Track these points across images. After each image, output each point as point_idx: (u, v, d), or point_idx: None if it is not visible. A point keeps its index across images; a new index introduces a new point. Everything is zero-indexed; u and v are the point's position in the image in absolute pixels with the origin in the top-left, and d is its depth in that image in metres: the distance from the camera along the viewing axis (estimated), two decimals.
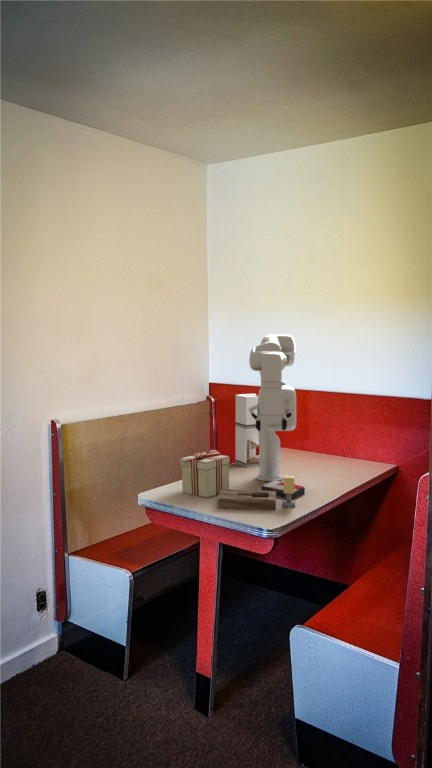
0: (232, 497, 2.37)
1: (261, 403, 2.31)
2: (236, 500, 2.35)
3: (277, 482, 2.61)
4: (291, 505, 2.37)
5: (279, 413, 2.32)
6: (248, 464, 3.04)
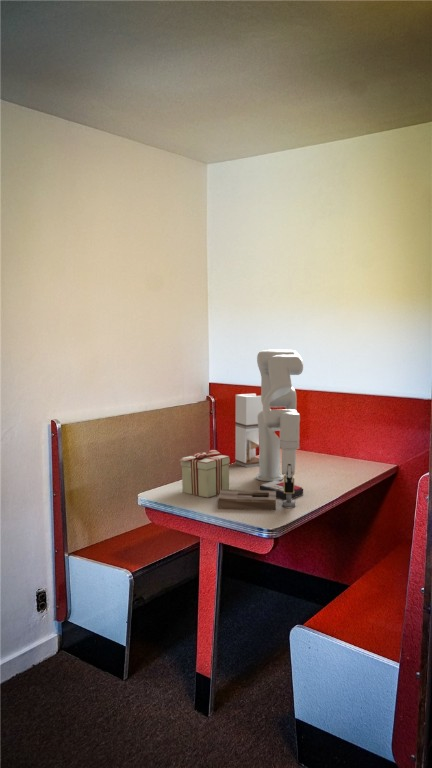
0: (232, 497, 2.37)
1: (294, 463, 2.34)
2: (236, 500, 2.35)
3: (277, 482, 2.61)
4: (291, 504, 2.37)
5: None
6: (248, 464, 3.04)
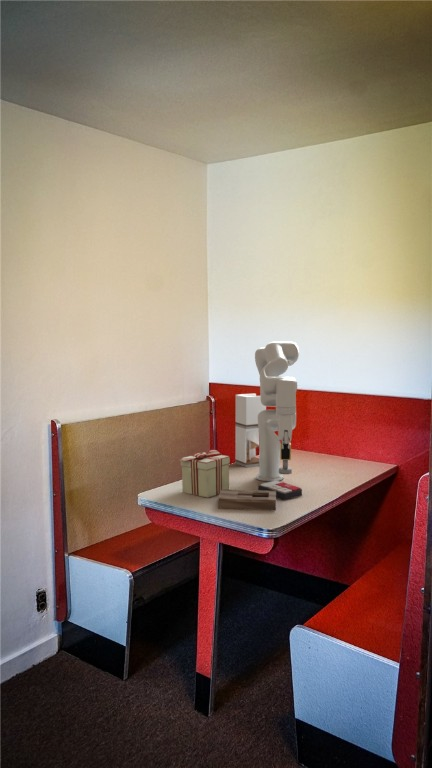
0: (232, 497, 2.37)
1: (291, 429, 2.33)
2: (236, 500, 2.35)
3: (277, 482, 2.61)
4: (287, 471, 2.36)
5: None
6: (248, 464, 3.04)
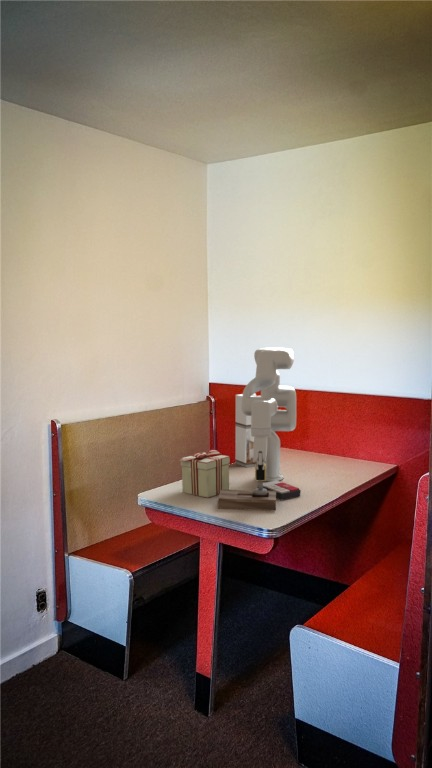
0: (232, 497, 2.37)
1: (265, 450, 2.34)
2: (236, 500, 2.35)
3: (277, 482, 2.61)
4: (262, 492, 2.38)
5: None
6: (248, 464, 3.04)
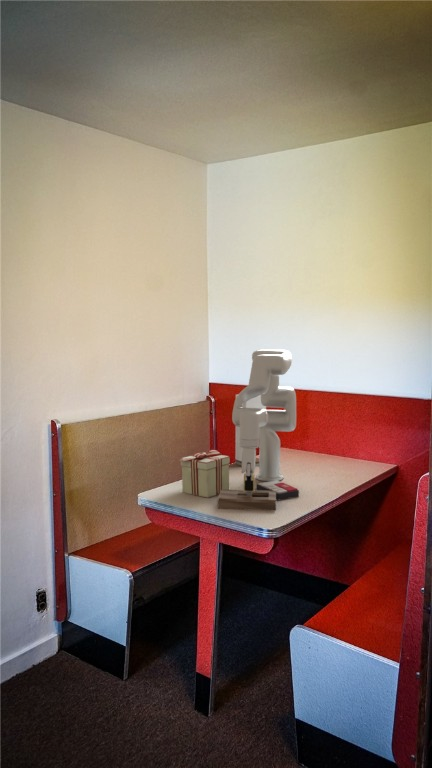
0: (232, 497, 2.37)
1: (254, 461, 2.35)
2: (236, 500, 2.35)
3: (277, 482, 2.61)
4: None
5: None
6: None
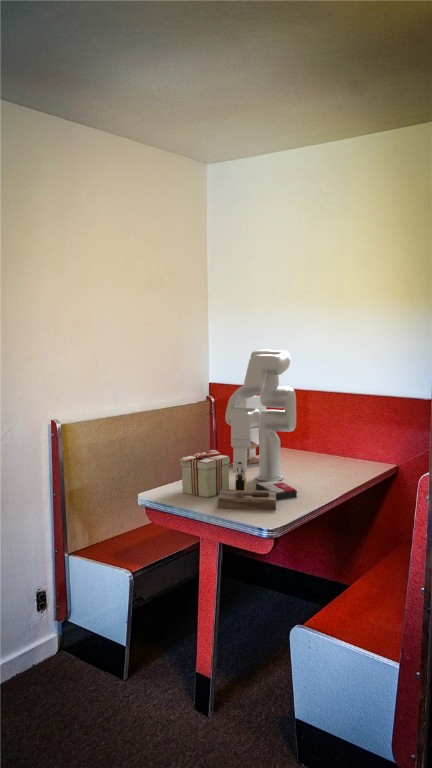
0: (232, 497, 2.37)
1: (245, 461, 2.36)
2: (236, 500, 2.35)
3: (276, 482, 2.61)
4: None
5: None
6: (248, 464, 3.04)
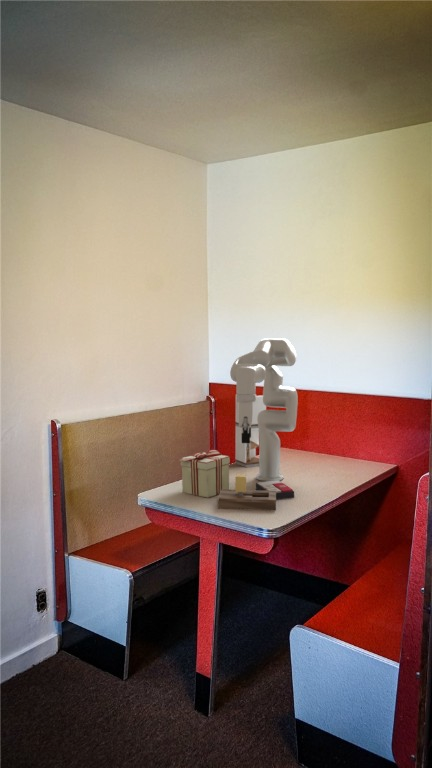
0: (232, 497, 2.37)
1: (250, 416, 2.39)
2: (236, 500, 2.35)
3: (276, 482, 2.61)
4: None
5: None
6: (248, 464, 3.04)
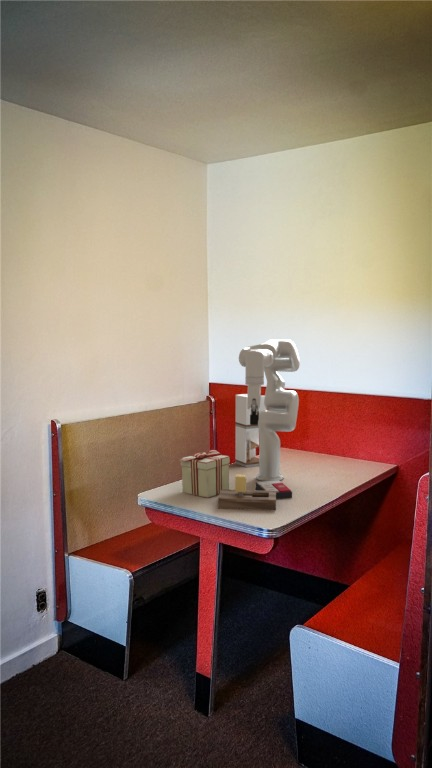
0: (232, 497, 2.37)
1: (259, 398, 2.47)
2: (236, 500, 2.35)
3: (276, 482, 2.61)
4: None
5: None
6: (248, 464, 3.04)
